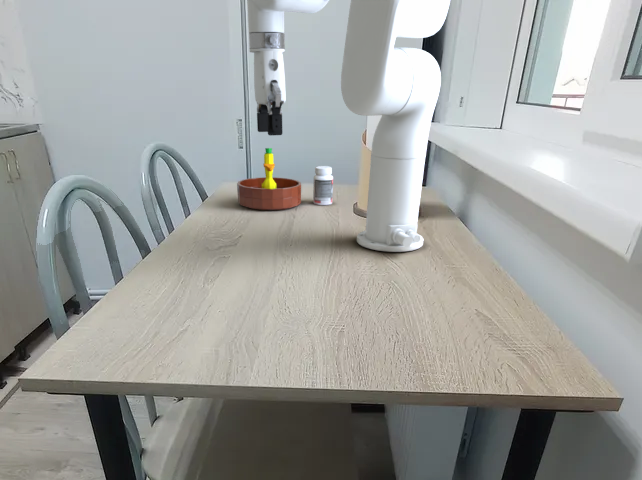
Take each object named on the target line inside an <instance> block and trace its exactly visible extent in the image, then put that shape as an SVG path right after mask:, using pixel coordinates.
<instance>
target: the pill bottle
mask: <svg viewBox="0 0 642 480" xmlns="http://www.w3.org/2000/svg"><path fill="white" fill-rule="evenodd" d="M314 174H315V175H314V176H313V190H312V191H313V194H312V195H313V196H312V197H313V200H312V202H313V204H314V205H317V206H330V205H332V204H333V199H334V198H333V193H334V176H333V175H332V174H333V167H332V166H328V165H318V166H315V168H314Z"/></svg>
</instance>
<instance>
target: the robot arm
mask: <svg viewBox="0 0 642 480" xmlns="http://www.w3.org/2000/svg"><path fill="white" fill-rule="evenodd" d="M329 2H330V0H247V1H246V3H247V23H248V24H247V27H248V47H249V50H248V51H249V53H253V84H254V99H255V102H256V123H257V125H256V126H257V127H256V128H257V132H259V133H267V135H268V136H283V109H282V106H283V105H284V104H286V101H287V93H286V75H285V63H284V55H283V53H285V52H286V46H285V45H286V43H285V41H286V40H285V13H299V14H308V15H311V14H316V13H318V12H320V11H322V10H323V9H324V8H325V6H326V5H327V4H328V3H329ZM450 3H451V0H350V4H349V11H348V17H347V24H346V25H347V26H346V33H345V39H344V40H345V42H344V48H343V56H342V64H341V72H340V73H341V74H340V90H341V96H342V100H343V102H344V104H345V106H346V108H347V109H348V110H349V111H350V112H352V113H353V114H355V115H357V116H364V117H367V116H368V117H372V116H373V117H374V116H380V119H379V121H378V123H377V126H376V128H375V131H374V133H373V138H372V143H371V153H370V163H369V165H370V166H369V179H368V190H367V191H368V193H367V205H366V206H367V207H366V221H365V230H363V231H360V232H359V233H358V234H357V235H356V242H357V243H358V245H360V246H361V247H363V248H366V249H370V250H375V251H379V252H387V253H401V252H411V251H415V250H418V249H421V248H422V247H423V245H424V238H423V236H422V235H420V233H419V234H418V233H417V232H418V220H419V213H420V211H419V210H420V204H421V195H422V186H423V179H424V170H425V162H426V156H427V149H428V142H429V135H430V129H431V124H432V119H433V115H434V112H435V108H436V105H437V102H438V98H439V94H440V89H441V83H442V76H441V75H442V74H441V69H440V65H439V63H438V61H437V60H436V59H435V57H434V56H433V55H432V54H431V53H429V52H427V51H426V50H423V49H421V48H416V47H403V46H401V47H400V46H399V47H398V46H395V43H396V38H406V39H407V38H408V39H423V38H424V39H425V38H428V37H431V36H434V35H435V34H436V33H438V32H439V31H440V30H441V29H442V26H443V25H444V23H445V20H446V19H447V15H448V11H449V7H450V5H451V4H450Z"/></svg>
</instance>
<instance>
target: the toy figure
mask: <svg viewBox="0 0 642 480" xmlns="http://www.w3.org/2000/svg"><path fill="white" fill-rule="evenodd" d="M264 151H265V152H264V154H263V168H264V173H265V174H264V175H265V177H266V179H265V181H264V182H263V184H262V189H276V183H275V181H274V180H273V179H272V177H273V176H274V175H273V174H274V169H275V167H276V166H275V165H276V164H275V163H274V153H273V152H272V151H273V148H272V147H265V150H264Z"/></svg>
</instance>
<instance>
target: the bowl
mask: <svg viewBox="0 0 642 480" xmlns="http://www.w3.org/2000/svg"><path fill="white" fill-rule="evenodd" d="M265 179H266V176H263V177H261V176H260V177H251V178H245V179H241V180H238V181H237V183H236V189H237V191H236V192H237V203H238V204H239V205H240V206H243V207H246V208H248V209H251V210H257V211H281V210H282V211H283V210H288V209H291V208H294V207H297V206H300V205H301V204H302V182H301V181H299V180H297V179H293V178H286V177H275V176H274V177H273V176H272V179H273V180H274V181H275V183H276V189H262V184H263V182H264V181H265Z"/></svg>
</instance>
